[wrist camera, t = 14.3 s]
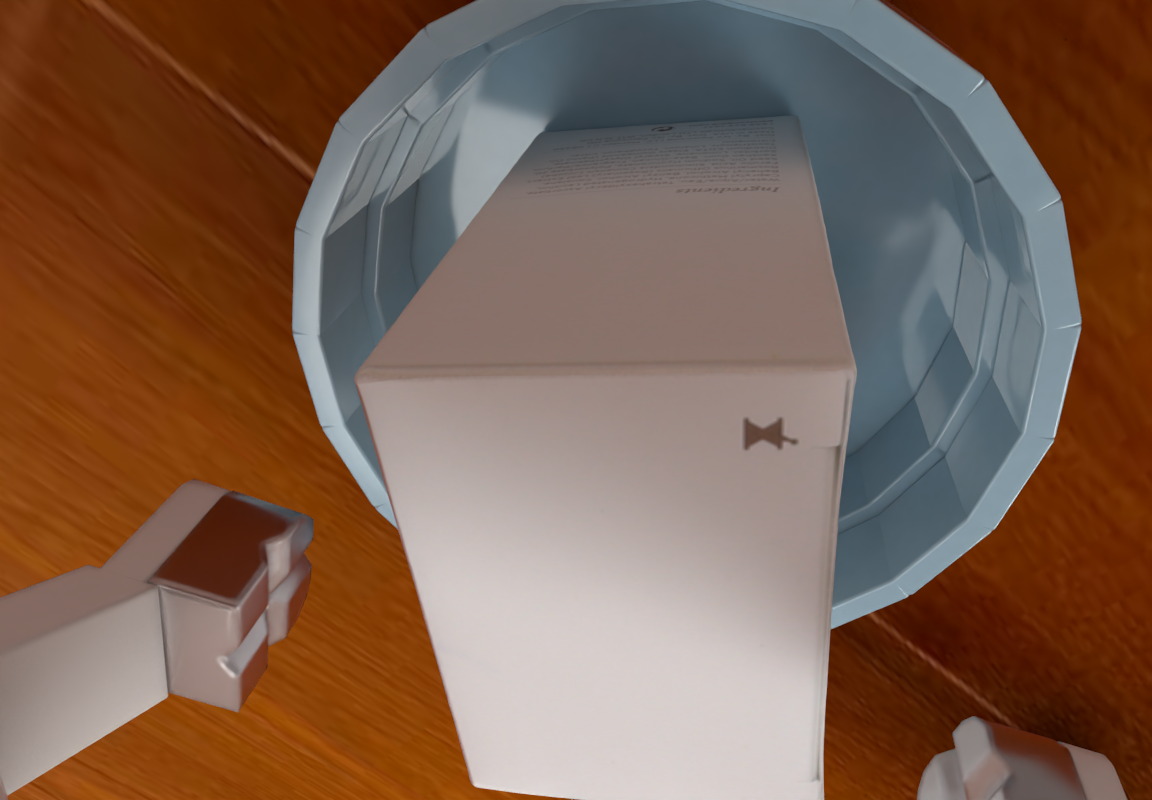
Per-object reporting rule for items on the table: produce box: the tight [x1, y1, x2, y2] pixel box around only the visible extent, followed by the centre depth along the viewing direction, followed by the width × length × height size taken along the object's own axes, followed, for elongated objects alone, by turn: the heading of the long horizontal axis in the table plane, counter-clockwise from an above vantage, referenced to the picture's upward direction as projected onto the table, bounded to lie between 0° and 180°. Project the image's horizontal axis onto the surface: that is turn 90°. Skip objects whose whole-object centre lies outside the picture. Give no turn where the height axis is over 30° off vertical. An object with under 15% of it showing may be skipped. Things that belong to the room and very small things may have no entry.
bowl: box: [292, 0, 1082, 630], centre depth 18 cm, size 14×14×5 cm
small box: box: [354, 115, 857, 800], centre depth 15 cm, size 8×6×10 cm
